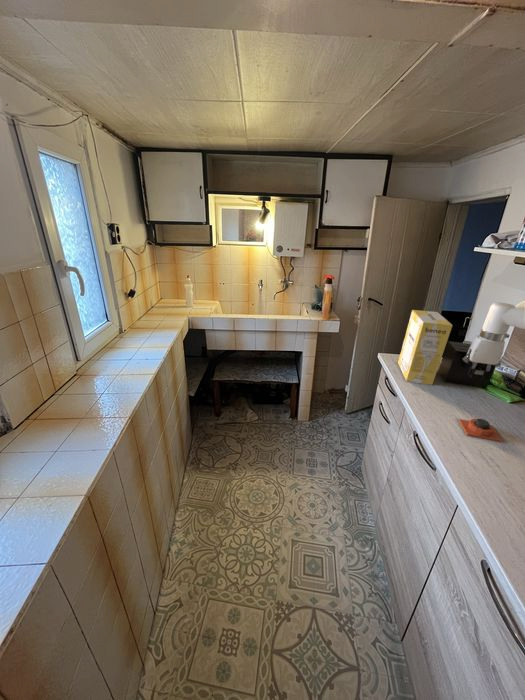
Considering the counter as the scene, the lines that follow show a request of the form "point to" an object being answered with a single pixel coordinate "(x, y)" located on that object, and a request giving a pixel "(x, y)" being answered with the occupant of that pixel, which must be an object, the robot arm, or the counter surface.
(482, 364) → the toaster
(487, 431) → the switch block
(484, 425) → the button
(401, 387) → the counter surface
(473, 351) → the robot arm
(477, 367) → the press handle
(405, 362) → the pasta box
